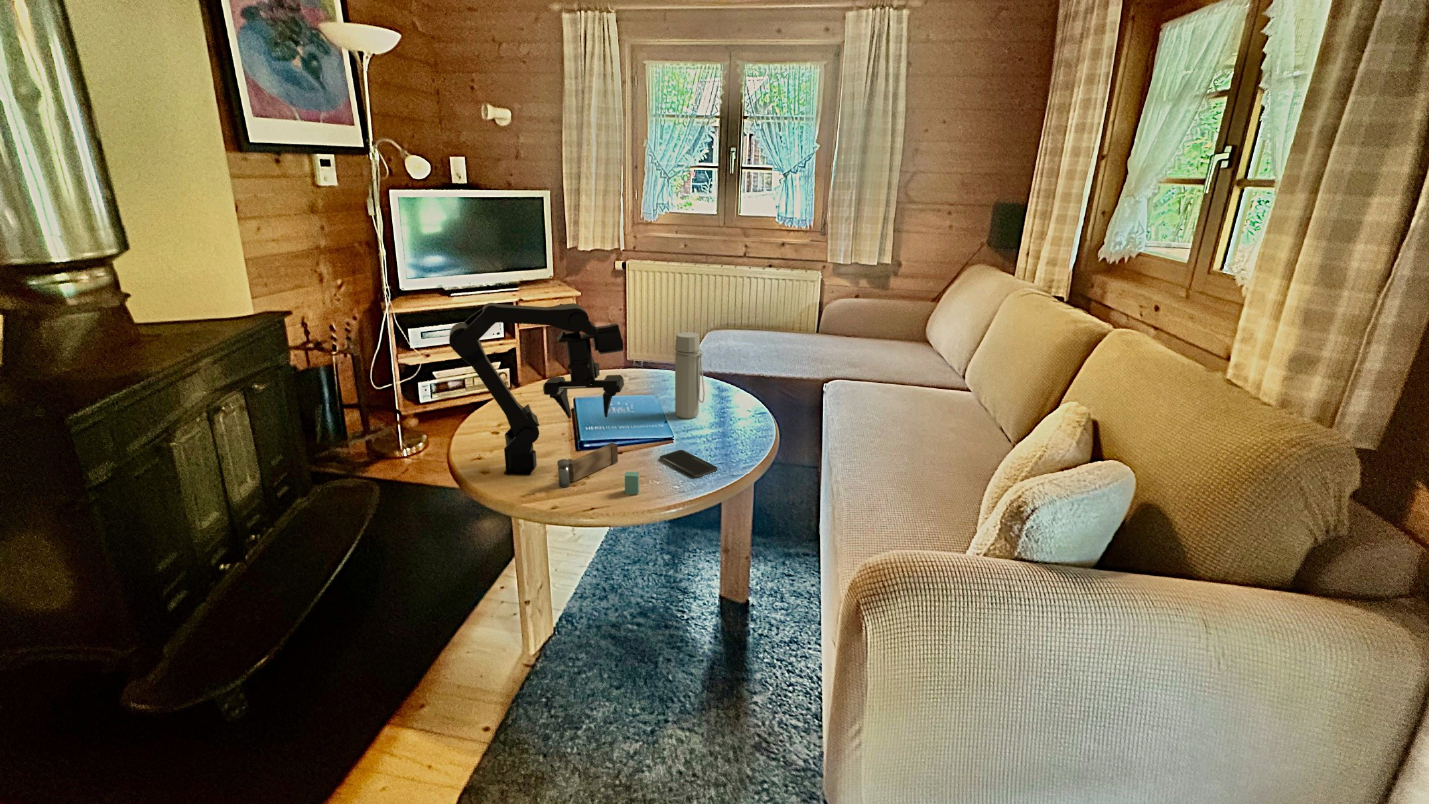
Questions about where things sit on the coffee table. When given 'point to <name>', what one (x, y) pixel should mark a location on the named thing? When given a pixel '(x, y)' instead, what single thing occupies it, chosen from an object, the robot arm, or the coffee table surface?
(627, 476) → the block
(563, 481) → the hinge post
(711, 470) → the phone
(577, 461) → the gate
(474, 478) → the coffee table surface
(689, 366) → the water bottle
